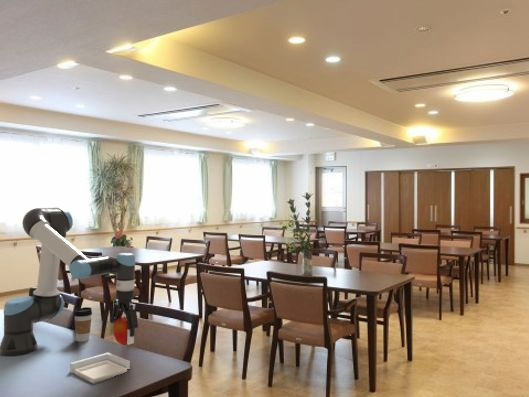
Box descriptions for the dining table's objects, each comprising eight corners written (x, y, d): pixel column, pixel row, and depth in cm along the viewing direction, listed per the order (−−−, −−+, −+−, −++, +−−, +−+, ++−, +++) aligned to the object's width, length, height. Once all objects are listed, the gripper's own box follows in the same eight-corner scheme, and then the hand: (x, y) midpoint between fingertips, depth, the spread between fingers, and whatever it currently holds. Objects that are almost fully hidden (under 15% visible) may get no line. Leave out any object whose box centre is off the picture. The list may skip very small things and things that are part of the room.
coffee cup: (95, 339, 225) (96, 308, 225) (80, 343, 217) (80, 312, 218) (84, 336, 229) (85, 306, 229) (69, 340, 222) (70, 309, 222)
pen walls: (69, 371, 182) (69, 362, 182) (107, 360, 195) (108, 352, 195) (90, 382, 172) (90, 372, 172) (129, 369, 185) (129, 360, 185)
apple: (108, 344, 197) (108, 316, 197) (124, 338, 204) (125, 312, 204) (122, 348, 192) (123, 320, 192) (139, 343, 199) (139, 315, 199)
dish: (74, 374, 179) (74, 369, 179) (107, 364, 190) (107, 360, 190) (93, 383, 170) (93, 378, 170) (126, 372, 181) (126, 368, 181)
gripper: (103, 286, 202) (102, 337, 202) (132, 294, 188) (131, 349, 188) (118, 284, 208) (117, 333, 208) (147, 292, 194) (146, 345, 194)
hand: (123, 341), depth 198 cm, fingers closed on apple, 9 cm apart
